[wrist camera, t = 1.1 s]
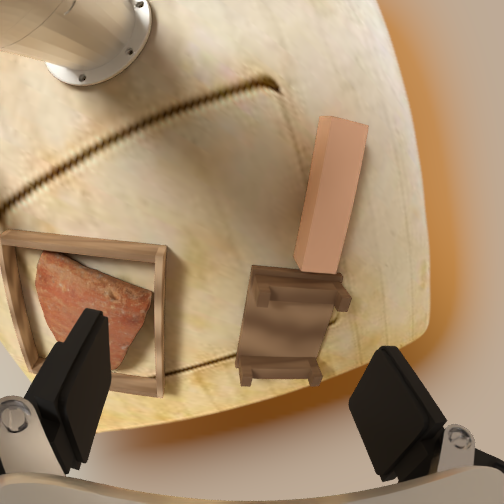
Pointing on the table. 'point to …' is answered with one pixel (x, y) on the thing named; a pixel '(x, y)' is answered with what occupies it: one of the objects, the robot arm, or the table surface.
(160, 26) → the table surface
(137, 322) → the ceramic shard
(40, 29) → the robot arm
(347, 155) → the tan pink long block
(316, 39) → the table surface
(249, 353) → the rack
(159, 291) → the low wooden frame
